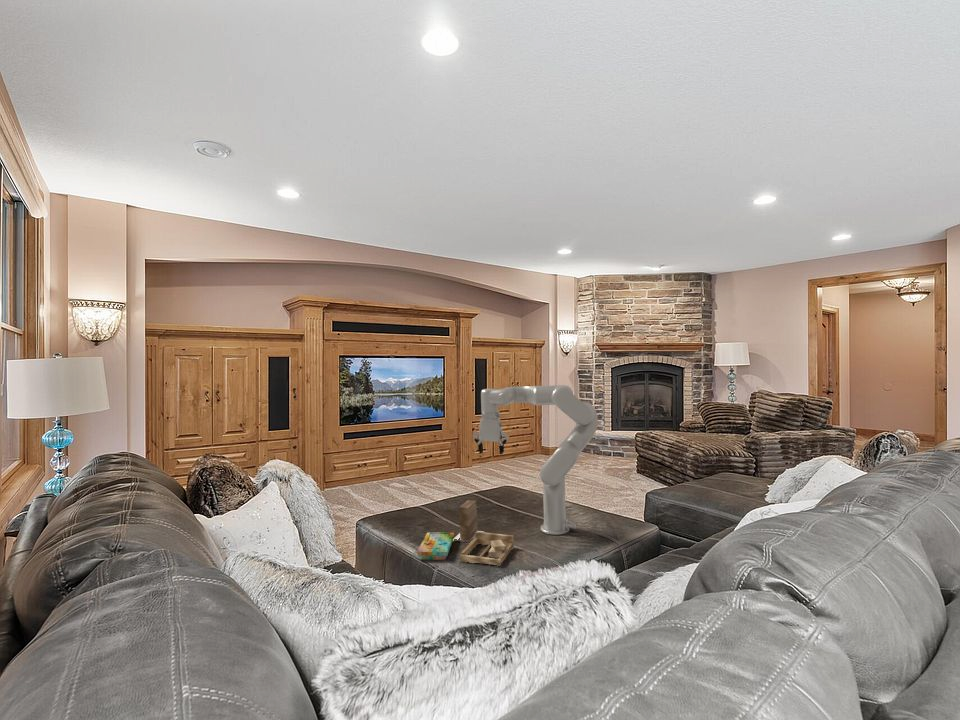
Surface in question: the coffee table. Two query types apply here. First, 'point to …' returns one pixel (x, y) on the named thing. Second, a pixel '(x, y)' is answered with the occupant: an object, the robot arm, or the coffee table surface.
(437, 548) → the puzzle game
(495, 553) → the offcut low
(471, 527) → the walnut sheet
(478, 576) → the coffee table surface
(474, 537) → the mat
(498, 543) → the offcut top
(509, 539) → the frame
